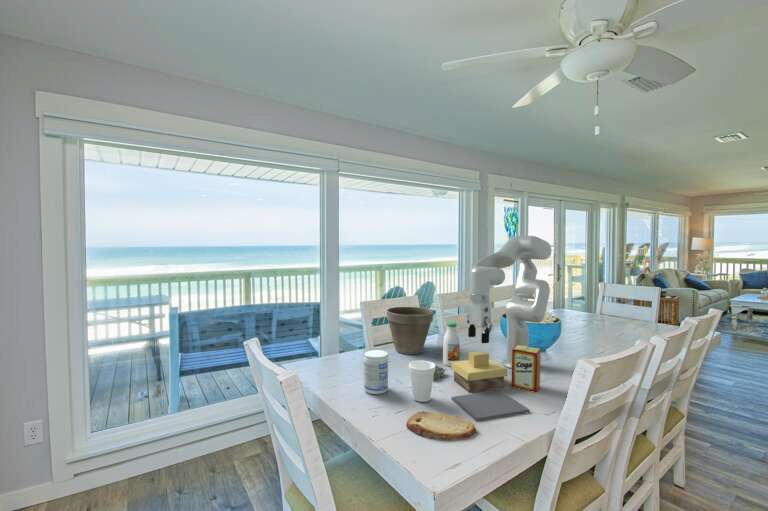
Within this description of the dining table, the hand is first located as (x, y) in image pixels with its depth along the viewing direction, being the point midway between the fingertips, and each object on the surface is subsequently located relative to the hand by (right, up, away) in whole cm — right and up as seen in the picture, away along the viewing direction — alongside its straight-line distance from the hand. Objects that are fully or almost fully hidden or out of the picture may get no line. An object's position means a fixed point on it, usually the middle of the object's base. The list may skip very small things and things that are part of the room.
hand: (478, 339), depth 149 cm
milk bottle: (-6, -18, +25) cm, 32 cm away
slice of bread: (-21, -21, -34) cm, 45 cm away
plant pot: (-25, -17, +47) cm, 55 cm away
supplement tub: (-42, -19, -5) cm, 46 cm away
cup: (-24, -19, -13) cm, 34 cm away
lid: (0, -14, +1) cm, 14 cm away
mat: (-1, -20, -18) cm, 27 cm away
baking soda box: (+19, -19, -1) cm, 27 cm away
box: (0, -19, +1) cm, 19 cm away
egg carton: (-17, -19, +10) cm, 28 cm away
